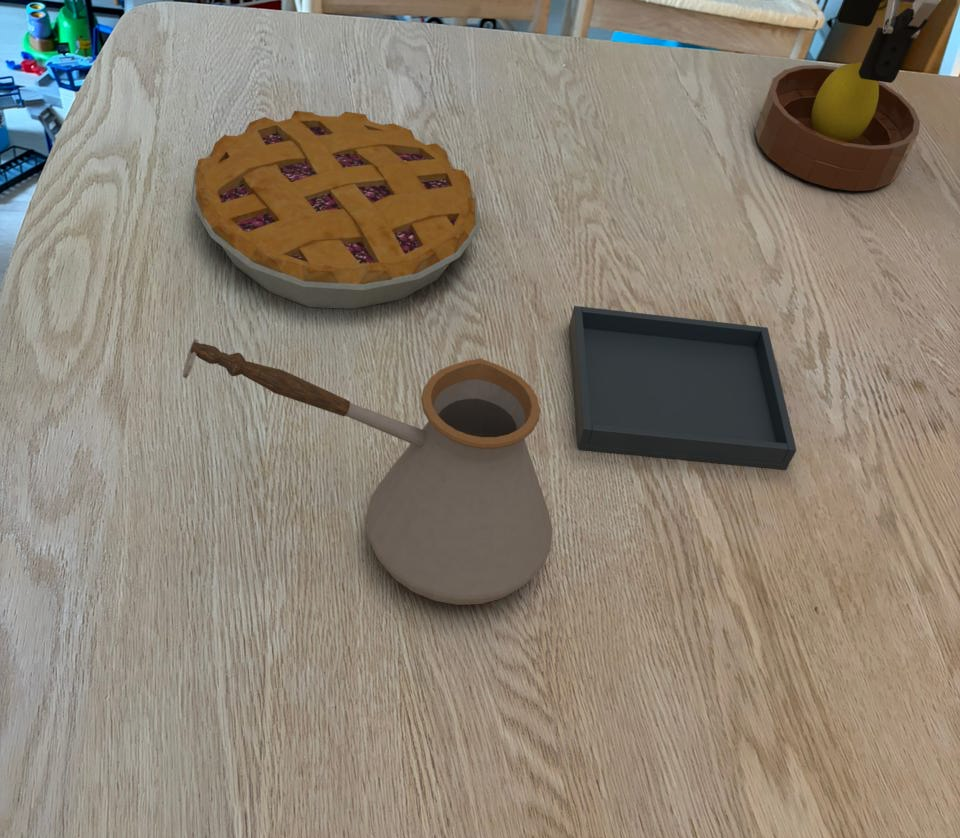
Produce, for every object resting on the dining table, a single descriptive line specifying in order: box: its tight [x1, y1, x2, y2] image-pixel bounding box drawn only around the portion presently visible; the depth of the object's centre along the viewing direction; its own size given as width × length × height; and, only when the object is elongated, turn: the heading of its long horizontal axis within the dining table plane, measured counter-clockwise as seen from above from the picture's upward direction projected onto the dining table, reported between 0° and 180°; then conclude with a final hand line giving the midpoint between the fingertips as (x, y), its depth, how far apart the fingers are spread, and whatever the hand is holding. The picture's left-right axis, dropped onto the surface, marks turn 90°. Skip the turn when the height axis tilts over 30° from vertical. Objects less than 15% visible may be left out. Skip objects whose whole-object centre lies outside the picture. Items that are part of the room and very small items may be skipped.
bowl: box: [754, 64, 921, 192], centre depth 100 cm, size 14×14×4 cm
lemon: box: [812, 61, 879, 143], centre depth 98 cm, size 6×6×8 cm
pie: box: [190, 110, 481, 310], centre depth 83 cm, size 22×22×5 cm
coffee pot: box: [182, 338, 553, 606], centre depth 61 cm, size 21×12×15 cm, turn 91°
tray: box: [568, 305, 797, 471], centre depth 78 cm, size 15×13×2 cm
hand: (863, 50), depth 95 cm, fingers open, 9 cm apart
